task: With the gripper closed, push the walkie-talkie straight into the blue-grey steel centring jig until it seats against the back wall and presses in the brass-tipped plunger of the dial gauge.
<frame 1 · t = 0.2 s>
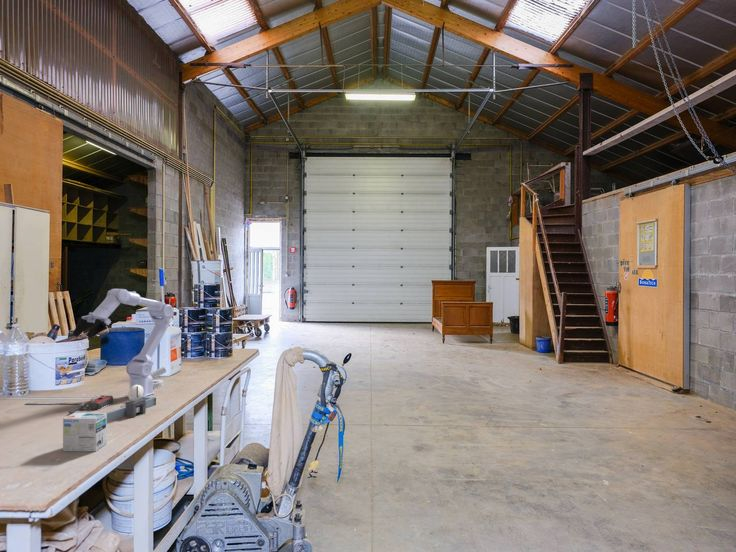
hand: (81, 336, 183), 31 cm above the workbench, tool tilted 45°, fingers open, 7 cm apart
walkie-talkie: (92, 409, 191), on the workbench
centring jig: (115, 411, 187), on the workbench
wall hook: (155, 387, 227), on the workbench
light bulb box: (85, 448, 149), on the workbench
gauge plunger: (129, 408, 184), point 2 cm above the workbench, slide at 0.0 cm
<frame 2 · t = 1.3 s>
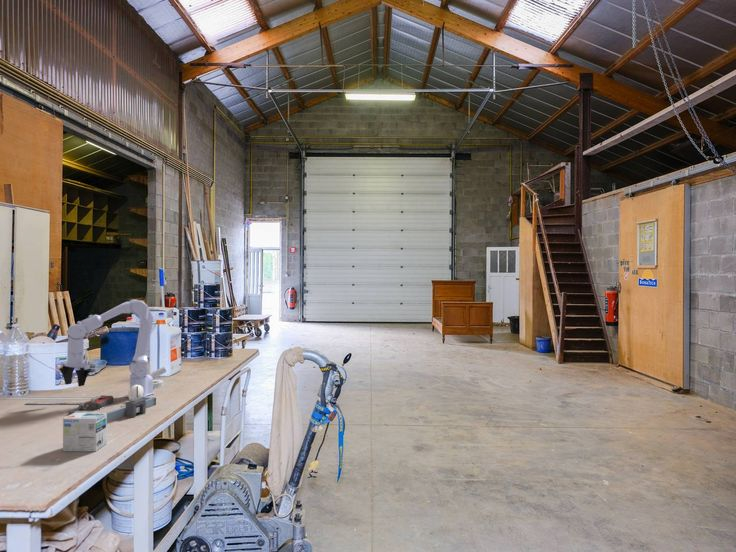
hand: (74, 384, 194), 9 cm above the workbench, tool pointing down, fingers open, 7 cm apart
nothing on the workbench moved.
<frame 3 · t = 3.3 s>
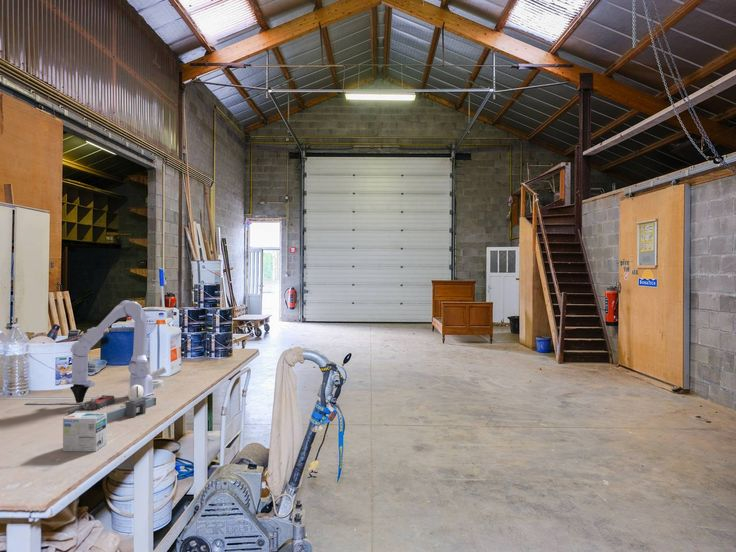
hand: (79, 402, 193), 1 cm above the workbench, tool pointing down, fingers closed
nothing on the workbench moved.
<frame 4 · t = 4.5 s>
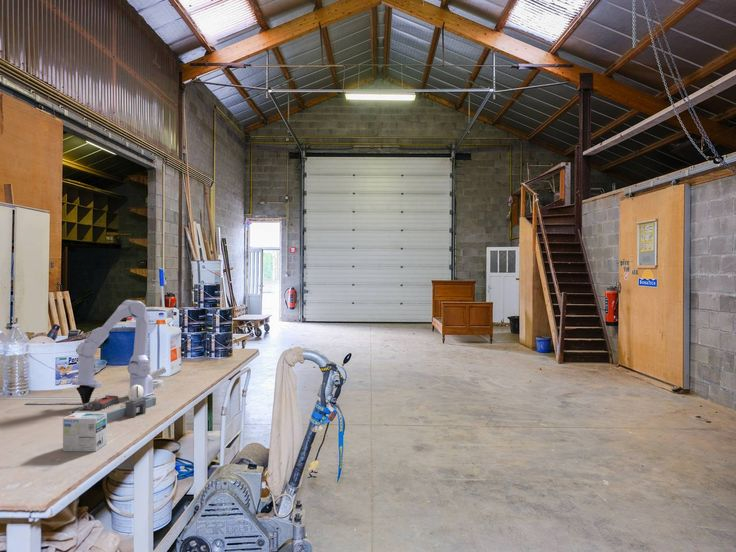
hand: (85, 403, 192), 1 cm above the workbench, tool pointing down, fingers closed
walkie-talkie: (96, 409, 191), on the workbench, touching gripper
everything else where it was.
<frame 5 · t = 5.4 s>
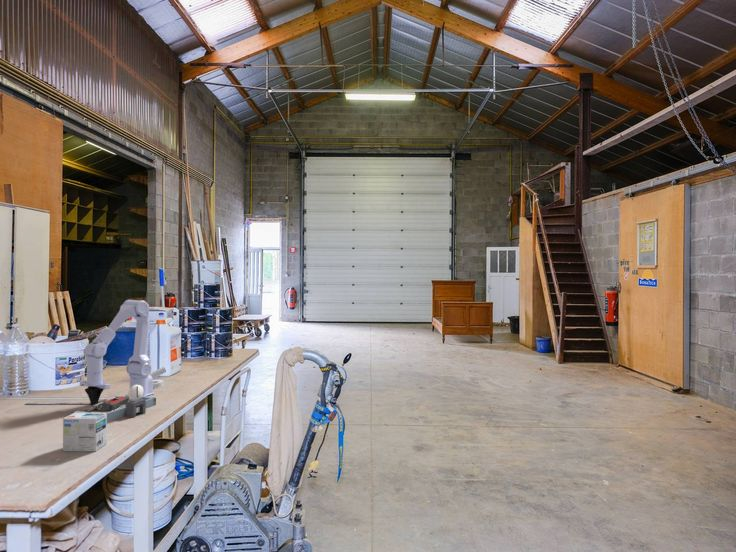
hand: (94, 404, 191), 1 cm above the workbench, tool pointing down, fingers closed
walkie-talkie: (106, 410, 190), on the workbench
everything else where it was.
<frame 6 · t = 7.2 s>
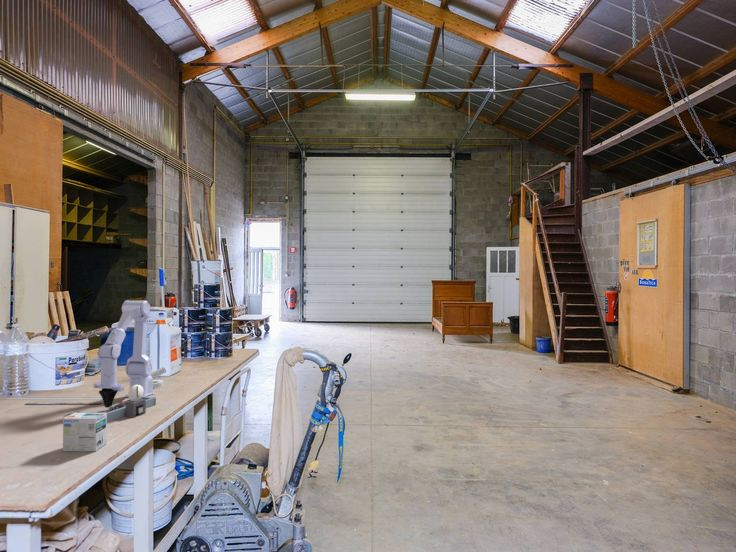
hand: (108, 406, 188), 1 cm above the workbench, tool pointing down, fingers closed
walkie-talkie: (122, 411, 189), on the workbench
gauge plunger: (133, 409, 183), point 2 cm above the workbench, slide at 1.6 cm
everything else where it was.
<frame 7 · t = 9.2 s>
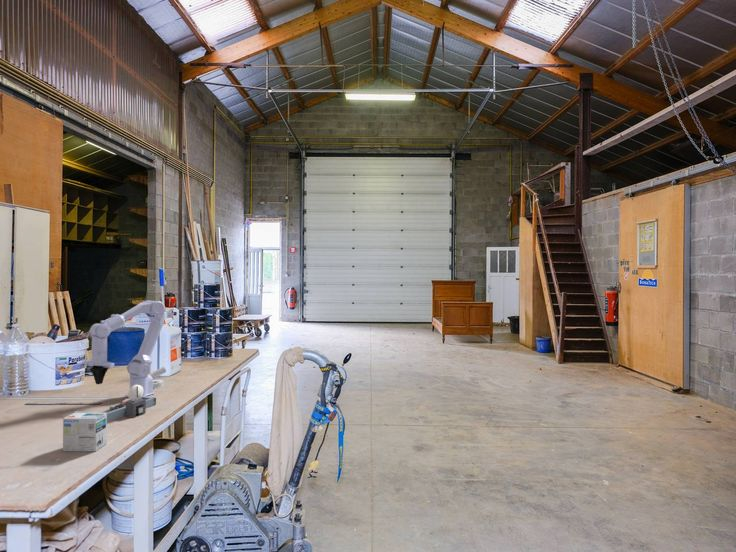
hand: (99, 383, 195), 9 cm above the workbench, tool pointing down, fingers closed
nothing on the workbench moved.
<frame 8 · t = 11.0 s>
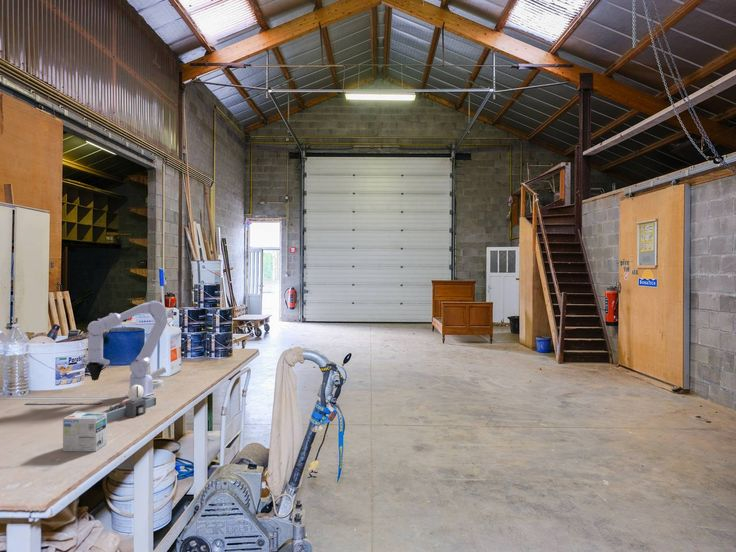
hand: (95, 379, 200), 9 cm above the workbench, tool pointing down, fingers closed
nothing on the workbench moved.
at the end: walkie-talkie 2.6 cm from the target spot on the centring jig, point -0.7 cm above the centring jig's base; gauge plunger slide at 1.7 cm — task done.
